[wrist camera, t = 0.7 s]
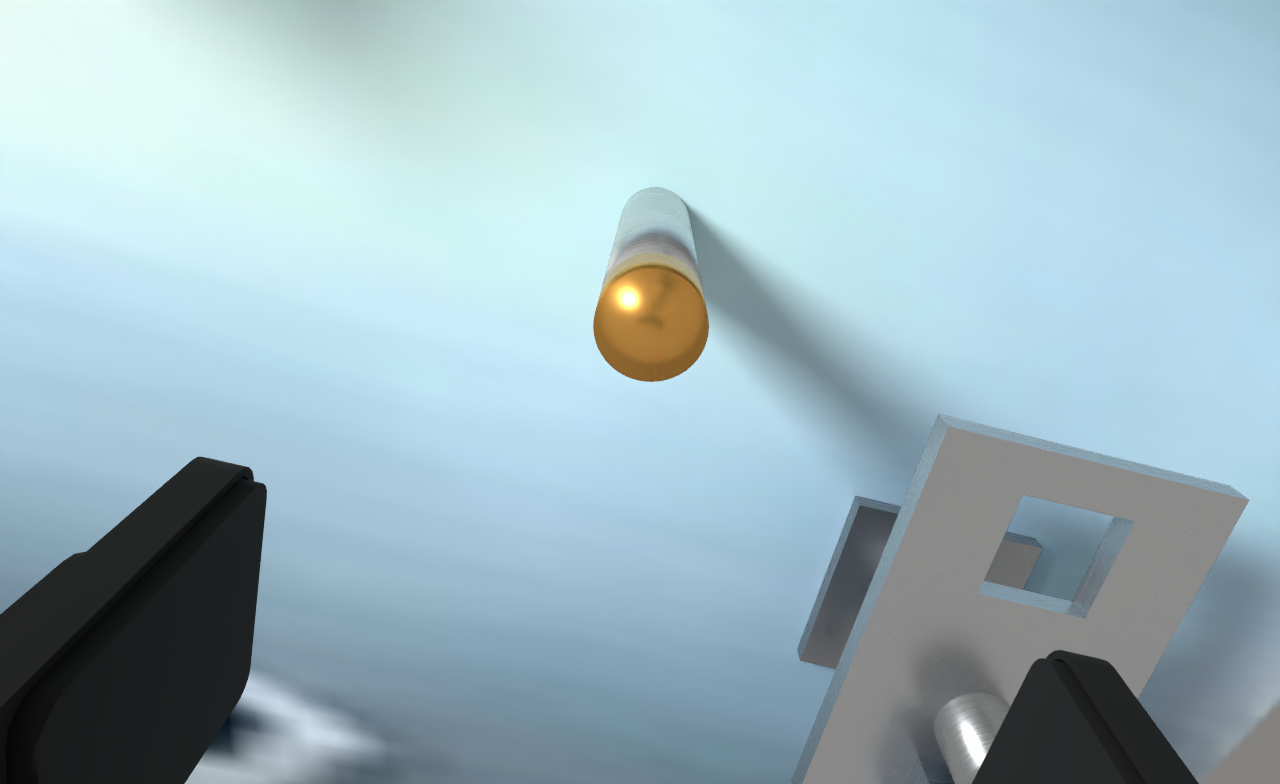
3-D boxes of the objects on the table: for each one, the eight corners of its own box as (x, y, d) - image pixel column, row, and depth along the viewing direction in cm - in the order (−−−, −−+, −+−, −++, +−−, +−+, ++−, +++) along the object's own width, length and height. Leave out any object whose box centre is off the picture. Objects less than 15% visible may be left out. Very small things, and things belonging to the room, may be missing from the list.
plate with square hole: (885, 347, 34) (982, 468, 24) (1123, 406, 35) (1316, 549, 25) (740, 741, 41) (766, 966, 31) (940, 784, 42) (1032, 1019, 32)
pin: (629, 179, 32) (608, 257, 19) (697, 197, 32) (722, 286, 19) (613, 247, 33) (582, 366, 20) (679, 264, 33) (691, 392, 20)
